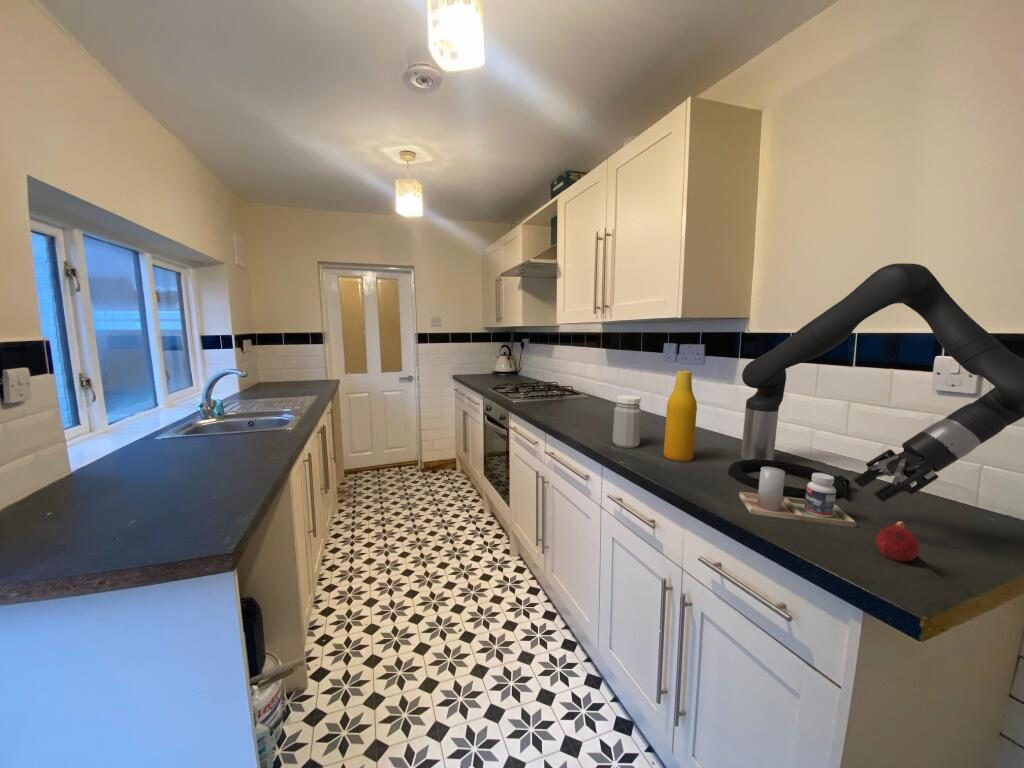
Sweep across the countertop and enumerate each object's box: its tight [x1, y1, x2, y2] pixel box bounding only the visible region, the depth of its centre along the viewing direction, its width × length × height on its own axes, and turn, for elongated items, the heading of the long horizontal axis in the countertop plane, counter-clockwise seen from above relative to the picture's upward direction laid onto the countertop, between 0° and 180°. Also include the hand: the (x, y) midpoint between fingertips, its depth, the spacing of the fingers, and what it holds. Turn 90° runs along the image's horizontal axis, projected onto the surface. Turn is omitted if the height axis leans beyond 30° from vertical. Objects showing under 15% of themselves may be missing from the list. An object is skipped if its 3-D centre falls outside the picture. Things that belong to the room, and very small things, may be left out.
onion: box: [875, 521, 920, 563], centre depth 75 cm, size 6×6×8 cm
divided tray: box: [738, 491, 858, 528], centre depth 95 cm, size 11×20×2 cm, turn 74°
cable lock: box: [727, 459, 853, 499], centre depth 114 cm, size 28×4×30 cm
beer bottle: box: [663, 370, 698, 463], centre depth 135 cm, size 9×9×29 cm
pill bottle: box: [804, 473, 836, 518], centre depth 93 cm, size 5×5×9 cm
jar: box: [612, 394, 643, 449], centre depth 150 cm, size 10×10×18 cm
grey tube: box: [757, 467, 786, 511], centre depth 96 cm, size 5×5×9 cm
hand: (867, 490), depth 90 cm, fingers open, 8 cm apart
